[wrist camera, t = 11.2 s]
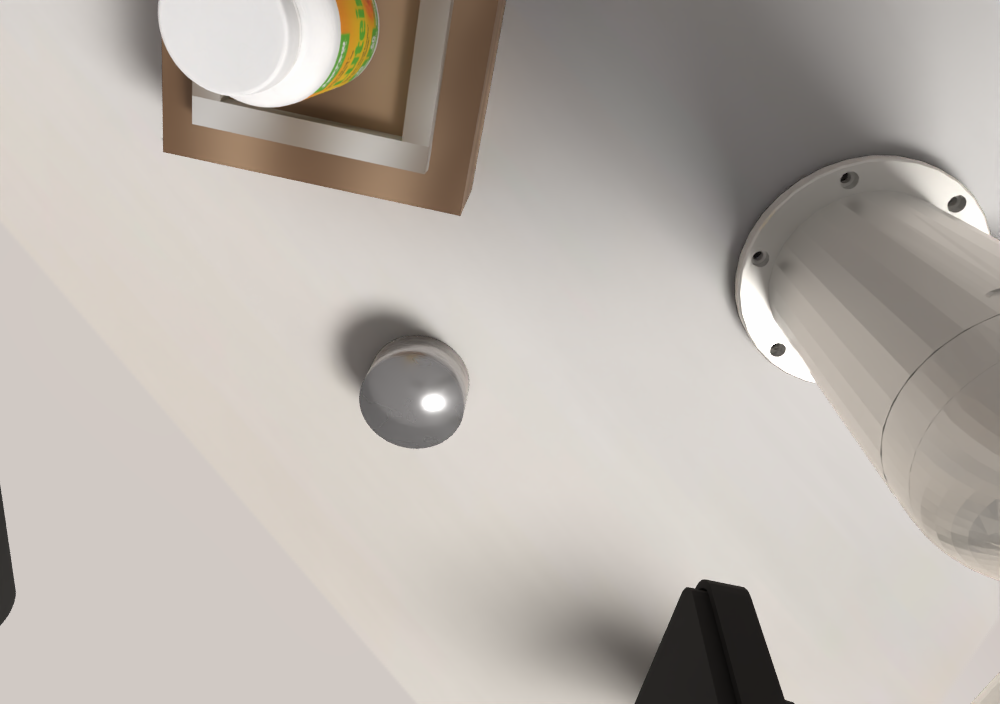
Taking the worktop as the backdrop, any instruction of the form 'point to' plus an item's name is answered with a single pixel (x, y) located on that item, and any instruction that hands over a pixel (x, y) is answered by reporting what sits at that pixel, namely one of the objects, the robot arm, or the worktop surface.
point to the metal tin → (415, 392)
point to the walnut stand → (363, 112)
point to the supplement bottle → (270, 45)
